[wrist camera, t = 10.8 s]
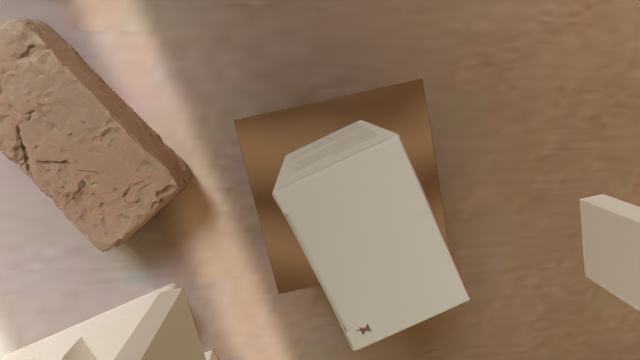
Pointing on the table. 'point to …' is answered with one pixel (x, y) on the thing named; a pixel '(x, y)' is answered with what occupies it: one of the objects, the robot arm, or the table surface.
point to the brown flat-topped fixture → (311, 125)
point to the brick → (80, 137)
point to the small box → (368, 232)
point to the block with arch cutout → (94, 335)
